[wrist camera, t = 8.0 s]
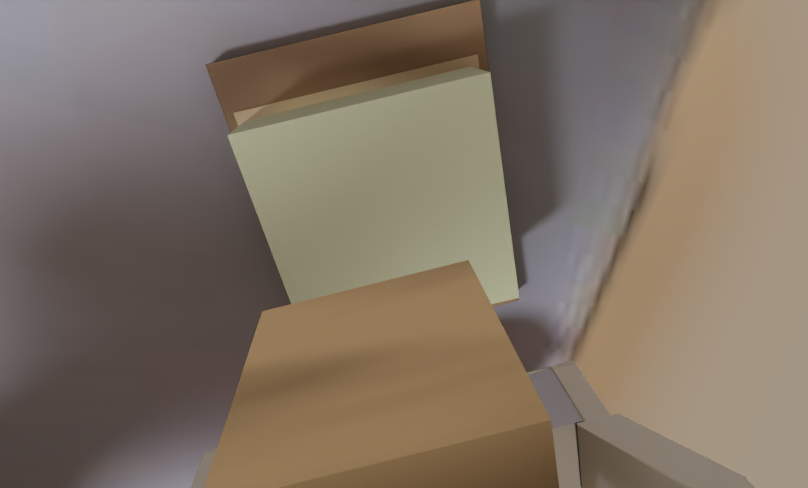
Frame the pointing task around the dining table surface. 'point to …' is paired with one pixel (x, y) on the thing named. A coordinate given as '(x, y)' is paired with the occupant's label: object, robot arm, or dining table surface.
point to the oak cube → (386, 394)
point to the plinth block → (382, 186)
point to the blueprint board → (350, 63)
